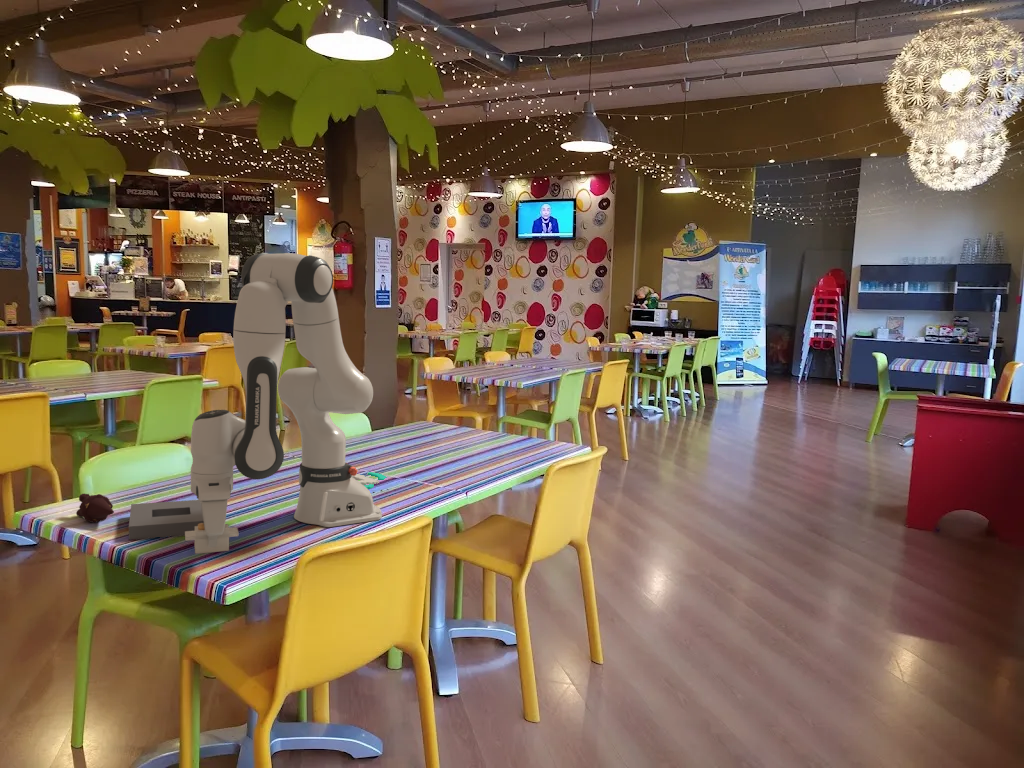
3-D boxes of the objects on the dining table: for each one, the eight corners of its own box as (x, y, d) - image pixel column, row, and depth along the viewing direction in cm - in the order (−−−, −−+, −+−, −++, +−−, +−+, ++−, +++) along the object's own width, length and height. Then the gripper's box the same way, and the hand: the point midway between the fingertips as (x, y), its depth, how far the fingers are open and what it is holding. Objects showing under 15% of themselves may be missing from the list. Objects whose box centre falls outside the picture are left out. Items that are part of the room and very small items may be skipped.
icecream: (130, 498, 181) (97, 491, 189) (100, 496, 174) (67, 489, 182) (125, 527, 180) (91, 519, 188) (94, 526, 174) (61, 518, 182)
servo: (236, 543, 172) (236, 518, 171) (238, 549, 168) (238, 524, 168) (184, 548, 167) (184, 522, 166) (185, 554, 164) (185, 528, 163)
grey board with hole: (208, 511, 194) (208, 499, 194) (213, 533, 178) (213, 520, 178) (131, 516, 186) (131, 504, 186) (128, 540, 170) (128, 526, 170)
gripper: (194, 471, 174) (194, 528, 175) (199, 495, 155) (198, 559, 157) (223, 470, 176) (223, 526, 178) (231, 493, 158) (230, 556, 160)
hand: (211, 542), depth 167 cm, fingers closed on servo, 4 cm apart
